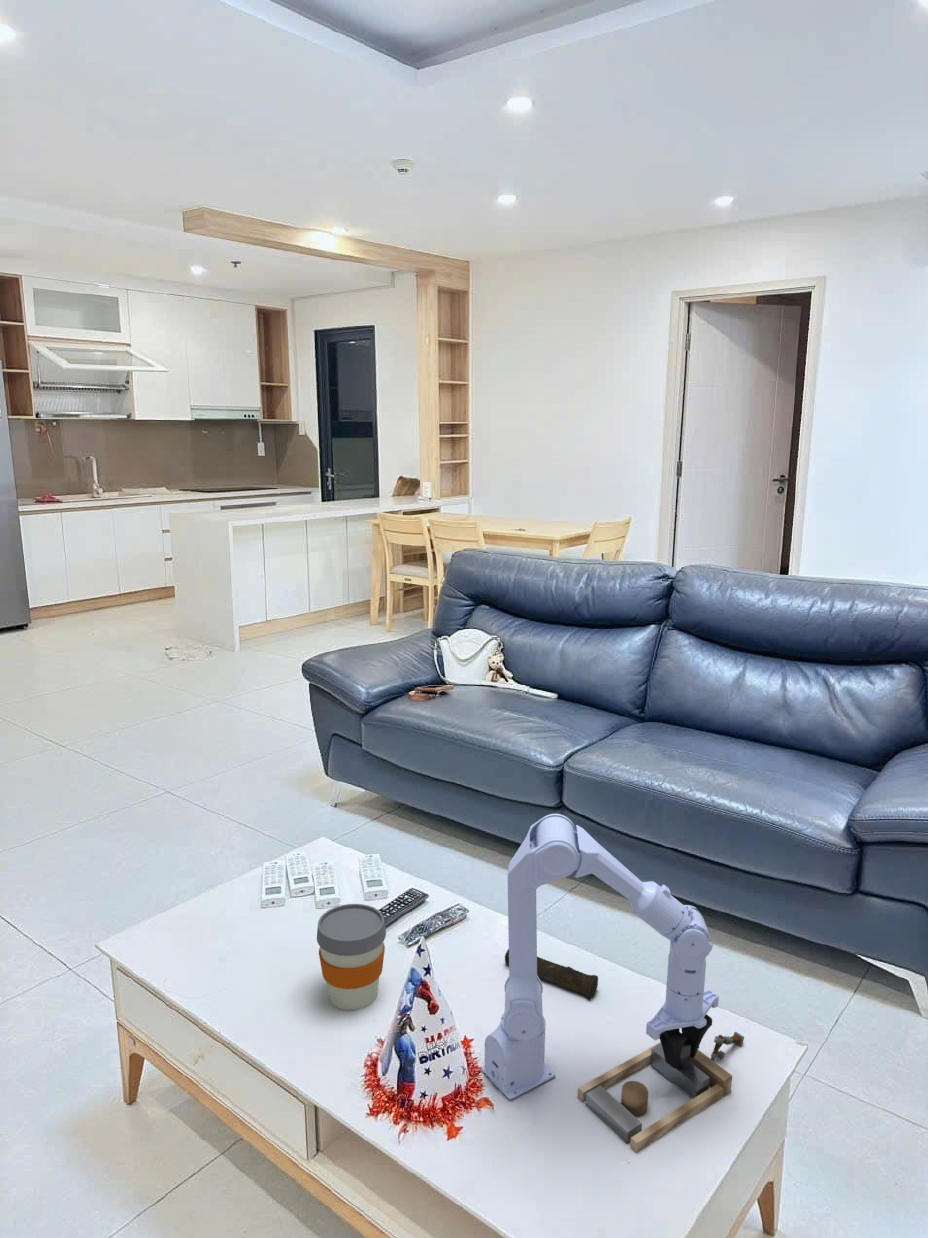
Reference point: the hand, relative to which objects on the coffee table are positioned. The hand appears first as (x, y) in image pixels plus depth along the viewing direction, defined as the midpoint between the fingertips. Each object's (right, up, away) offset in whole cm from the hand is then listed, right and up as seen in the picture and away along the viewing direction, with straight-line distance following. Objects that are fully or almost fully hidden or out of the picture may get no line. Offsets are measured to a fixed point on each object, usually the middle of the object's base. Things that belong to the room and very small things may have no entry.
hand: (680, 1058), depth 139 cm
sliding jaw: (0, -4, +1) cm, 4 cm away
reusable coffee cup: (-55, +1, +21) cm, 59 cm away
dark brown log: (-19, +1, +26) cm, 32 cm away
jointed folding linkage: (+10, -3, +7) cm, 12 cm away
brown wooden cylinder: (-8, -5, -5) cm, 11 cm away
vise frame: (-5, -4, -2) cm, 7 cm away
